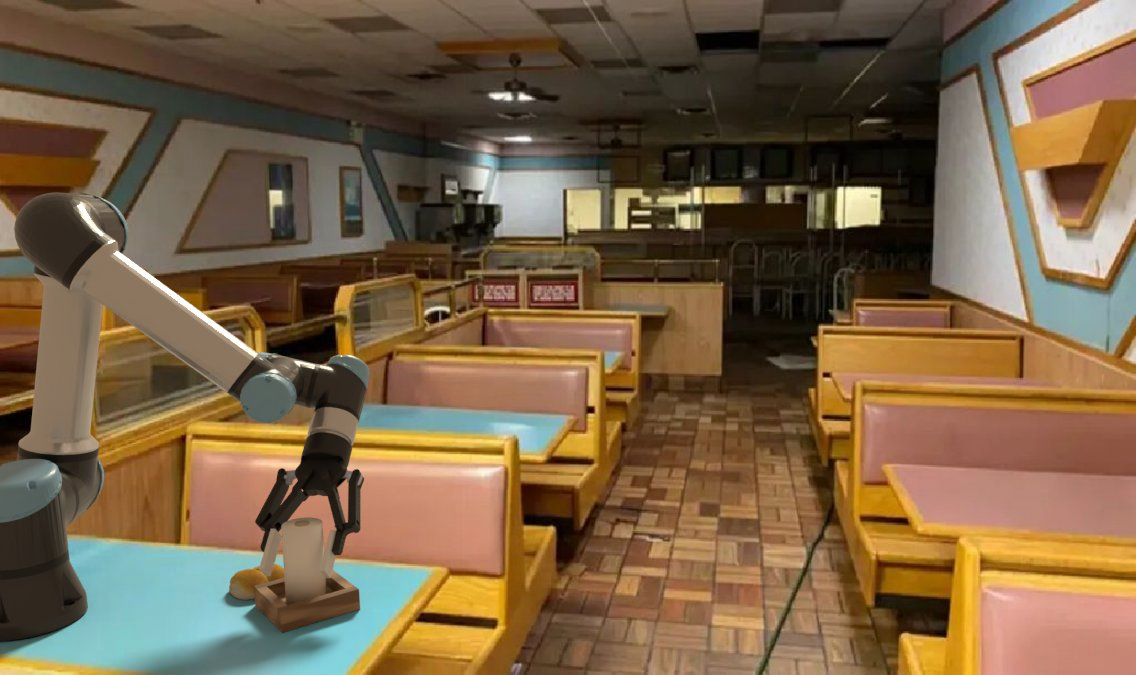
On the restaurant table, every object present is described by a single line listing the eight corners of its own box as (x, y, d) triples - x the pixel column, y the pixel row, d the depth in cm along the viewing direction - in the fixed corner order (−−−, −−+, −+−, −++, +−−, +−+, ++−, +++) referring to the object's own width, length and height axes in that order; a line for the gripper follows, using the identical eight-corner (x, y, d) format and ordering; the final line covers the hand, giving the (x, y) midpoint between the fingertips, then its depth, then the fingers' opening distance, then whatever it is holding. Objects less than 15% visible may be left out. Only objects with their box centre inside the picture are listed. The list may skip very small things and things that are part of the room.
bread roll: (298, 587, 150) (296, 564, 150) (246, 605, 144) (244, 581, 143) (272, 574, 156) (270, 552, 155) (221, 591, 150) (219, 568, 149)
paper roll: (280, 598, 143) (275, 521, 141) (317, 588, 146) (313, 513, 144) (294, 611, 138) (289, 532, 136) (332, 600, 141) (328, 523, 140)
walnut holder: (255, 605, 143) (253, 585, 143) (329, 584, 150) (327, 566, 150) (282, 632, 134) (280, 611, 133) (360, 609, 141) (358, 589, 140)
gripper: (399, 453, 153) (371, 585, 139) (276, 452, 156) (237, 581, 142) (386, 430, 147) (356, 565, 133) (258, 429, 150) (216, 561, 137)
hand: (294, 573), depth 138 cm, fingers open, 9 cm apart
